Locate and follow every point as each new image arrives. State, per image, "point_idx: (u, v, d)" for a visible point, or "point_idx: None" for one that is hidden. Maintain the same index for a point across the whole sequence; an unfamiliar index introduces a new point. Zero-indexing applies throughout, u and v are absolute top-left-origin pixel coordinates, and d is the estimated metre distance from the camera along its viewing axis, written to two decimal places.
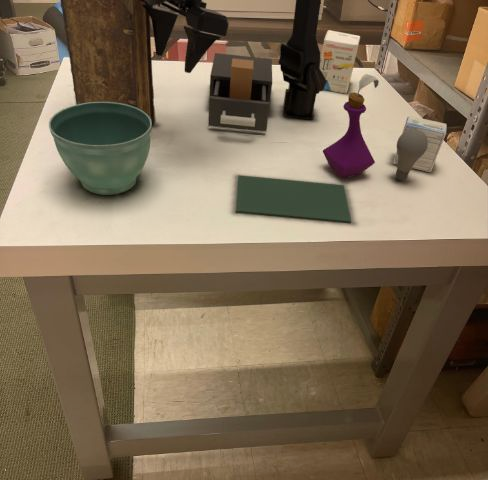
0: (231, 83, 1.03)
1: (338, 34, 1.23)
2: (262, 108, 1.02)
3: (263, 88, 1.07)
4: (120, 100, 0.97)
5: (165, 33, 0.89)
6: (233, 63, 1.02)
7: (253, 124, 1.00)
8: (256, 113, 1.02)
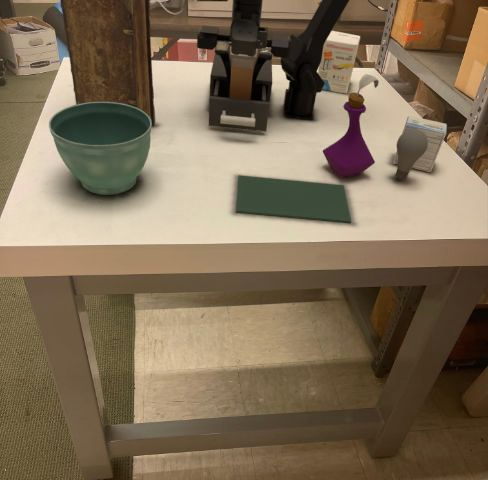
0: (231, 83, 1.03)
1: (338, 34, 1.23)
2: (262, 108, 1.02)
3: (263, 88, 1.07)
4: (120, 100, 0.97)
5: (230, 65, 1.04)
6: (233, 63, 1.02)
7: (253, 124, 1.00)
8: (256, 113, 1.02)
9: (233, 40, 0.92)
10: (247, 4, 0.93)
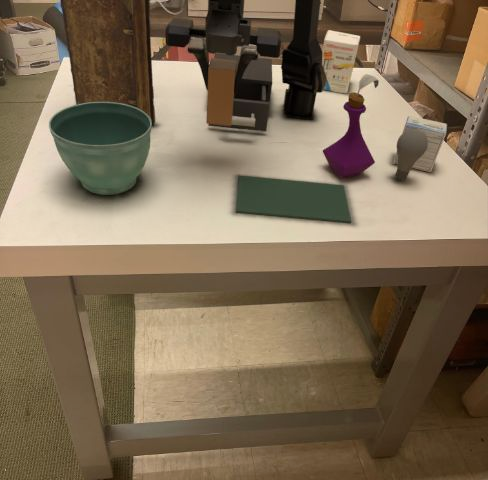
0: (209, 88, 0.85)
1: (338, 34, 1.23)
2: (262, 108, 1.02)
3: (263, 88, 1.07)
4: (120, 100, 0.97)
5: (208, 66, 0.85)
6: (211, 64, 0.84)
7: (253, 124, 1.00)
8: (256, 113, 1.02)
9: (207, 35, 0.74)
10: None
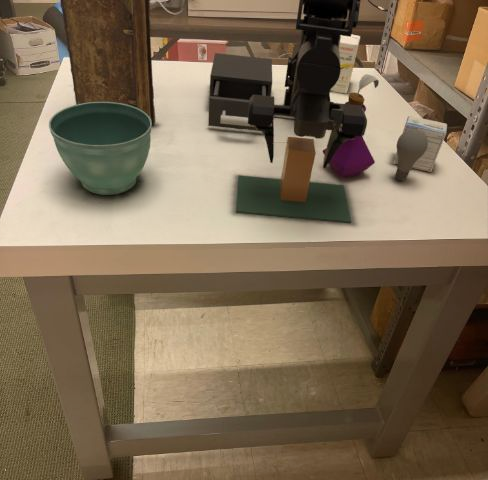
0: (287, 168, 0.83)
1: None
2: None
3: (263, 88, 1.07)
4: (120, 100, 0.97)
5: None
6: (290, 144, 0.82)
7: None
8: None
9: (299, 121, 0.72)
10: None
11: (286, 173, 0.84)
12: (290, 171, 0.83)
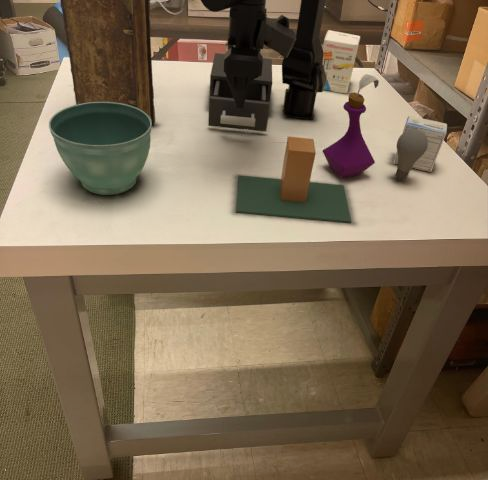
0: (287, 168, 0.83)
1: (338, 34, 1.23)
2: (262, 108, 1.02)
3: (263, 88, 1.07)
4: (120, 100, 0.97)
5: None
6: (290, 144, 0.82)
7: (253, 124, 1.00)
8: (256, 113, 1.02)
9: (294, 41, 0.82)
10: (265, 1, 0.80)
11: (286, 173, 0.84)
12: (290, 171, 0.83)
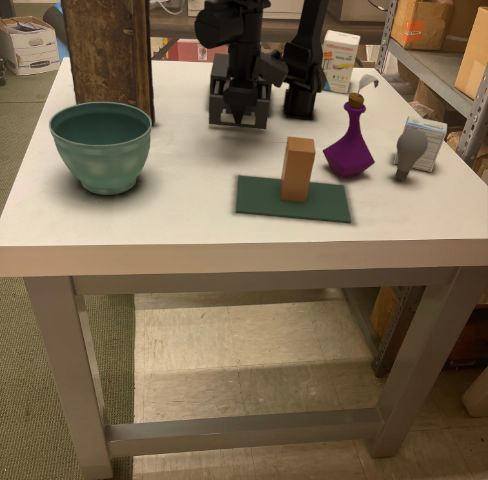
0: (287, 168, 0.83)
1: (338, 34, 1.23)
2: (262, 106, 1.02)
3: (263, 86, 1.08)
4: (120, 100, 0.97)
5: None
6: (290, 144, 0.82)
7: (253, 122, 1.00)
8: (256, 111, 1.03)
9: (286, 74, 0.91)
10: (260, 38, 0.89)
11: (286, 173, 0.84)
12: (290, 171, 0.83)
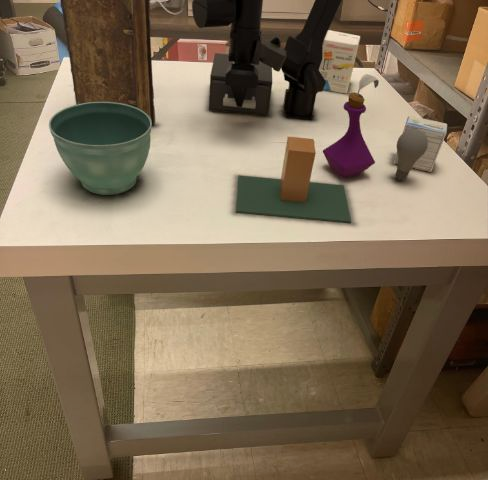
0: (287, 168, 0.83)
1: (338, 34, 1.23)
2: (262, 91, 1.08)
3: None
4: (120, 100, 0.97)
5: None
6: (290, 144, 0.82)
7: (254, 106, 1.06)
8: (256, 96, 1.09)
9: (284, 58, 0.97)
10: (260, 24, 0.95)
11: (286, 173, 0.84)
12: (290, 171, 0.83)
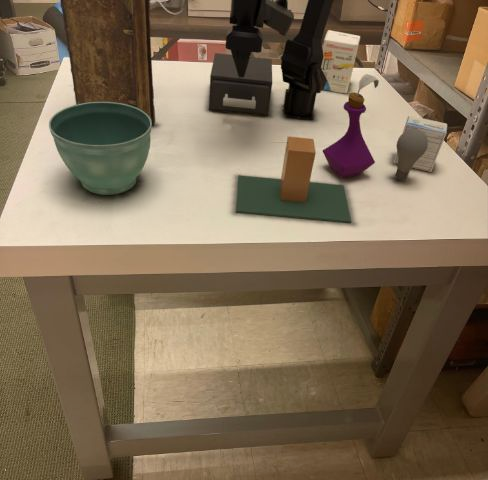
0: (287, 168, 0.83)
1: (338, 34, 1.23)
2: (262, 91, 1.08)
3: None
4: (120, 100, 0.97)
5: None
6: (290, 144, 0.82)
7: (254, 106, 1.06)
8: (256, 96, 1.09)
9: (292, 20, 0.87)
10: None
11: (286, 173, 0.84)
12: (290, 171, 0.83)
